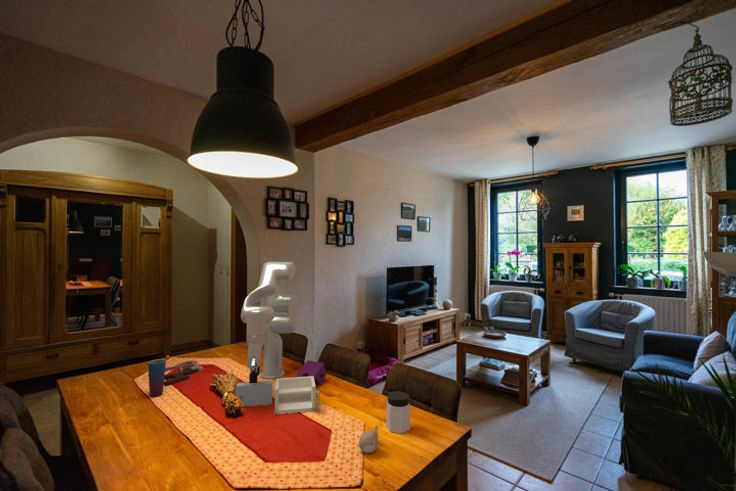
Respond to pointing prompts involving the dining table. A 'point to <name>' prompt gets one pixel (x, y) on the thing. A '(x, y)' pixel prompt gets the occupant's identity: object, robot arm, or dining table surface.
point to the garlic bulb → (369, 441)
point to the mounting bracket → (313, 371)
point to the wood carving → (182, 372)
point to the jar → (398, 412)
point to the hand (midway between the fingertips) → (254, 379)
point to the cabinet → (296, 395)
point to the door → (255, 393)
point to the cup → (156, 377)
